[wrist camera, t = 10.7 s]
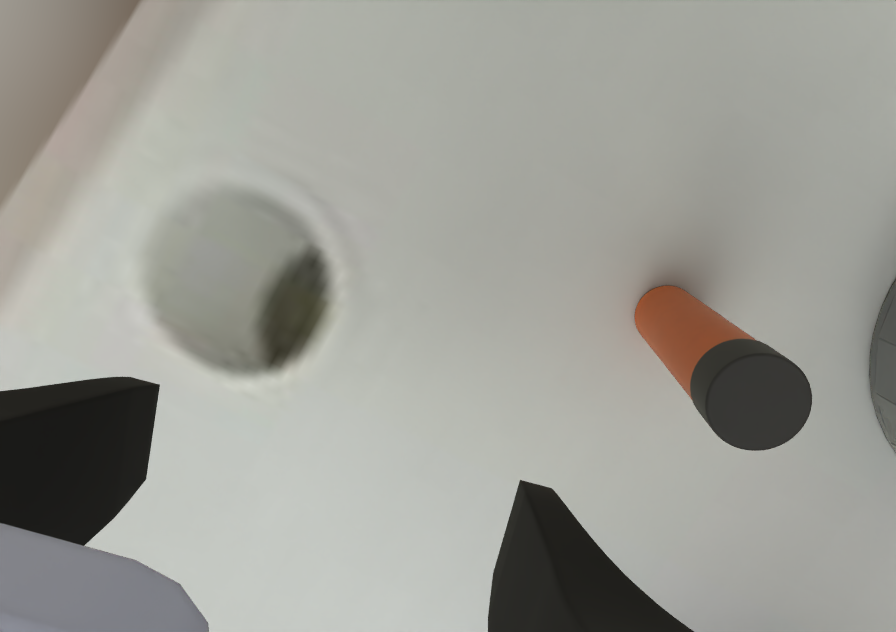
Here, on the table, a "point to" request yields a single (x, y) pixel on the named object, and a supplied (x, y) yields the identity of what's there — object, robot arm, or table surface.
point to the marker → (725, 370)
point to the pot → (885, 367)
